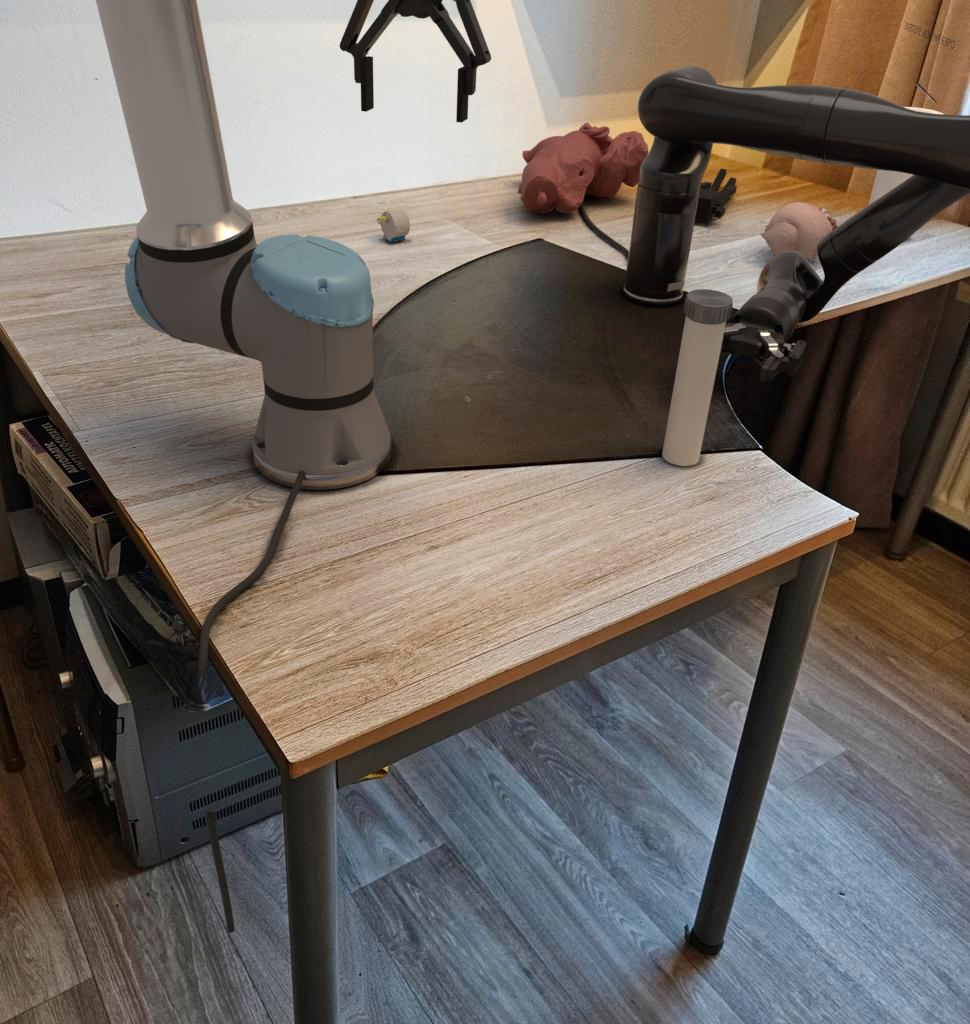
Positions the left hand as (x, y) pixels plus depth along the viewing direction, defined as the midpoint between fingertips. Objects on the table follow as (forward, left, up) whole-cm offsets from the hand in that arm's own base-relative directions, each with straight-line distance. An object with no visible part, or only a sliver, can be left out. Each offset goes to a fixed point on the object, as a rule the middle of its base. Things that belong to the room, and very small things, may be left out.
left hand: (414, 115), depth 131 cm
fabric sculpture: (+61, -9, -27) cm, 68 cm away
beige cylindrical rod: (-29, -46, -27) cm, 61 cm away
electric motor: (+25, +15, -27) cm, 40 cm away
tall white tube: (+71, -68, -27) cm, 102 cm away
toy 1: (+74, -35, -27) cm, 86 cm away
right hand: (-17, -48, -21) cm, 55 cm away
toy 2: (+48, -53, -27) cm, 76 cm away
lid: (-29, -46, -8) cm, 55 cm away
